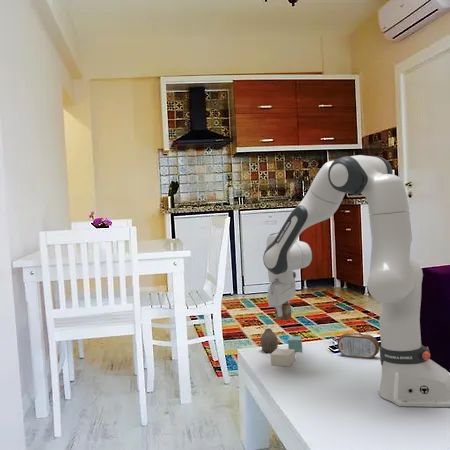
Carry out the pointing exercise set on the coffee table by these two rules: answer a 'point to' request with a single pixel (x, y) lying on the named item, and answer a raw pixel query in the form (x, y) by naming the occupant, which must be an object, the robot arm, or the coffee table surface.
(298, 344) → the teal cube
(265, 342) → the vase
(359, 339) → the tin
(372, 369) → the coffee table surface
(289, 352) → the limestone block
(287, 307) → the walnut block
